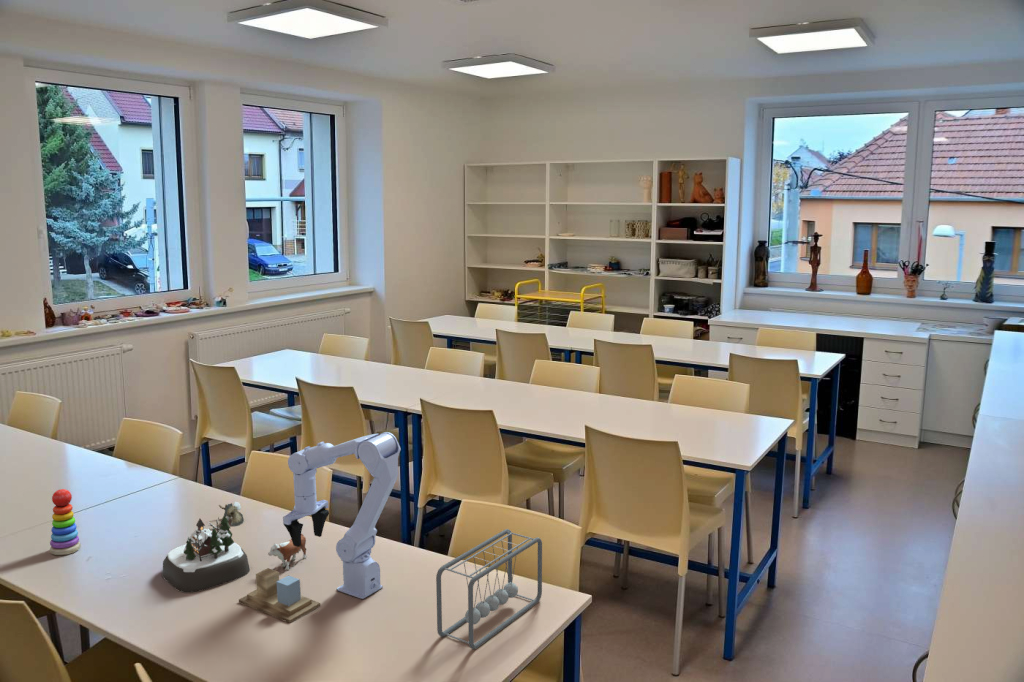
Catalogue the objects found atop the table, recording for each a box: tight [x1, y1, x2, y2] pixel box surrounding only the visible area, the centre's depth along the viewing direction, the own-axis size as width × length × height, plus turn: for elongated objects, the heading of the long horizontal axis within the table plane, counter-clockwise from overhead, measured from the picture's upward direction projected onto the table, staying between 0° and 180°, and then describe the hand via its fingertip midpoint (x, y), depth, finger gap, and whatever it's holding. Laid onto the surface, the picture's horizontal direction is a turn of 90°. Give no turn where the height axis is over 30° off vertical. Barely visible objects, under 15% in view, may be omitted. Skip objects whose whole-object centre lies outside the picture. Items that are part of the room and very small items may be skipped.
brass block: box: [255, 567, 280, 598], centre depth 209 cm, size 4×4×6 cm
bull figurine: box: [267, 533, 307, 572], centre depth 229 cm, size 4×13×8 cm, turn 152°
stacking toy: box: [49, 488, 82, 556], centre depth 237 cm, size 8×8×19 cm
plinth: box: [238, 589, 321, 624], centre depth 207 cm, size 19×10×2 cm, turn 57°
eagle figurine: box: [218, 501, 245, 527], centre depth 260 cm, size 8×7×9 cm
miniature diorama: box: [161, 513, 251, 594], centre depth 224 cm, size 20×20×17 cm
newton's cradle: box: [435, 528, 543, 650], centre depth 199 cm, size 30×10×18 cm, turn 145°
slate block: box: [277, 575, 302, 606], centre depth 205 cm, size 4×4×6 cm
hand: (307, 540), depth 221 cm, fingers open, 7 cm apart
